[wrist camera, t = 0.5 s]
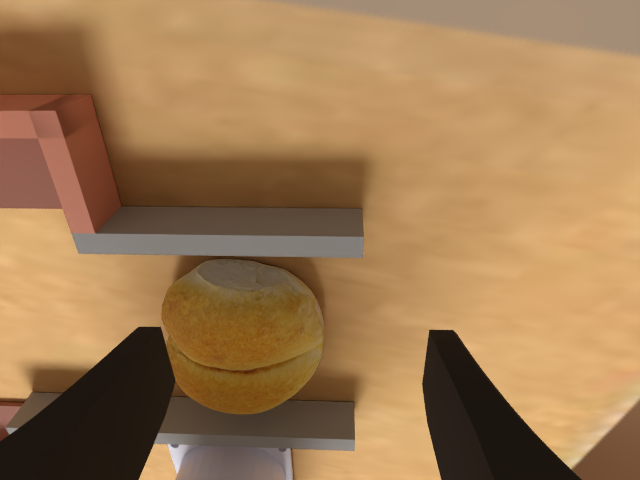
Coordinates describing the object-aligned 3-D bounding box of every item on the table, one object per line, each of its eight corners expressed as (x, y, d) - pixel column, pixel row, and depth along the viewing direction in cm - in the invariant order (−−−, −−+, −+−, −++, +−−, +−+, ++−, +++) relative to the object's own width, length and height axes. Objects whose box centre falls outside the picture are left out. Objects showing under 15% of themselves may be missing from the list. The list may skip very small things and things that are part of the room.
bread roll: (176, 371, 26) (151, 430, 23) (169, 244, 21) (135, 295, 18) (314, 388, 26) (309, 450, 23) (336, 267, 22) (334, 322, 18)
